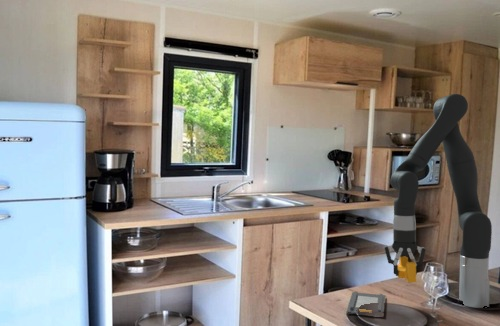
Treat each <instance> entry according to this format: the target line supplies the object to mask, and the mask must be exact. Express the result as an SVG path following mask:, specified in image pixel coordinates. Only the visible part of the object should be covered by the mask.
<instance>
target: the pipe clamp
mask: <svg viewBox="0 0 500 326" xmlns="http://www.w3.org/2000/svg"><path fill="white" fill-rule="evenodd" d="M398 263H399V264H398ZM398 263H397V264H398V276H397V278H398V279H404V280H406V282H407V283H417V274H416V263H415V262H412V261H409V257H400V258H399V260H398Z"/></svg>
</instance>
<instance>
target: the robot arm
mask: <svg viewBox="0 0 500 326" xmlns="http://www.w3.org/2000/svg"><path fill="white" fill-rule="evenodd" d="M468 108H469V102H468V100H467V98H466V97H465V96H464V95H462V94H459V93H452V94H449V95H445V96H443V97H440V98H438V99H437V100H436V101H435V102H434V105H433V108H432V109H433V110H432V111H433V117H434V119H435V121H434V123H433V124H432V125H431V127H430V128H429V129H428V130H427V131H426V132H425V133H424V134H423V135H422V136H421V137H420V138H419V139H418V140H417V142H416V143H415V145H414V146H413V147H412V149H411V150H410V152H409V154H408V155H407V157H406V158H405V159H404V160H403V161H402V162H401V163H400V164H399V165H398V166H397V168H395V170H394V171H393V172H392V174H391V176H390V186H391V187H392V188H393V189H394V190H396V191H399V193H398V197H397V198H396V199H395V200H393V201H394V202H393V221H392V222H393V224H392V228H393V230H392V231H393V232H392V233H393V238H392V239H393V243H392V245H391V244H390V245H385V246H384V251H385V255H386V260H387V263H388V264H391V265H393V274H394V275H395V277H398V263H399V258H400V257H408V258H409V259H410V262H415V263H416V275H417V274H418V273H417V272H418V270H417V269H418V266H422V264H423V261H424V258H425V254H426V248H425V247H424V246H418V245H417V225H416V224H417V222H416V207H415V206H416V205H415V203H416V200H417V195H418V192H419V186H420V184H419V179H418V176H417V173H418V172H420V171H423V170H424V169H425V168H426V167H427V165H428V164H429V163H430V161H431V159H432V157H433V156H434V155H435V153H436V151H437V150H438V148H439V147H440V145H441V144H442V146H443V147H442V148H443V151H444V154H445V159H446V166H447V167H446V168H447V171H448V176H449V178H450V183H451V186H452V190H453V193H454V196H455V200H456V206H457V215H458V225H459V227H460V229H461V231H462V241H461V243H462V244H461V247H460V248H459V249H460V252H459V287H458V288H459V289H458V290H459V291H458V294H459V295H458V298H459V299H460V300H462V301H463V304H464V305H463V306H464V307H468V308H476V309H484V308H483V307H484V306H487V307H489V308H490V284H491V283H490V279H489V260H490V259H489V258H490V251H491V248H492V235H493V234H492V232H493V231H492V230H493V229H492V228H493V227H492V222H491V219H490V218H489V217H488V216H487V215H486V214H485V213H483V210H482V207H481V204H480V201H479V197H478V183H479V182H478V175H479V174H478V169H477V164H476V160H475V156H474V153H473V151H472V149H471V148H470V146H469V145H468V143H467V142H466V140H465V139H464V137H463V135H462V133H461V130H460V125H459V122H460V121H461V120H462V119H463V117H465V115H466V114H467V111H468V110H469V109H468ZM392 249H393V250H394V252H395V253H396V254H395V257H394V259H392V256H391V252H392ZM416 251H418V253H419V256H418V260H416V258H415V256H414V254H415V252H416ZM459 299H458V300H459ZM487 307H486V308H487Z"/></svg>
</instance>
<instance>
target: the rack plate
mask: <svg viewBox="0 0 500 326" xmlns="http://www.w3.org/2000/svg"><path fill="white" fill-rule="evenodd" d="M370 303H379V305H378V312H381V308H382V303H385V304H386V295H385V294H383V293H379V294H376V293H375V294H374V293H365V292H358V291H356V290H354V291H352V292H351V296H350V299H349V302H348V305H347V309H346V314H347V313H348V312H351V313H356V310H357V309H358V308H359V307H360V306H361V305H364V304H370ZM359 311H360V312H369V313H372V310H366V309H359Z"/></svg>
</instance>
